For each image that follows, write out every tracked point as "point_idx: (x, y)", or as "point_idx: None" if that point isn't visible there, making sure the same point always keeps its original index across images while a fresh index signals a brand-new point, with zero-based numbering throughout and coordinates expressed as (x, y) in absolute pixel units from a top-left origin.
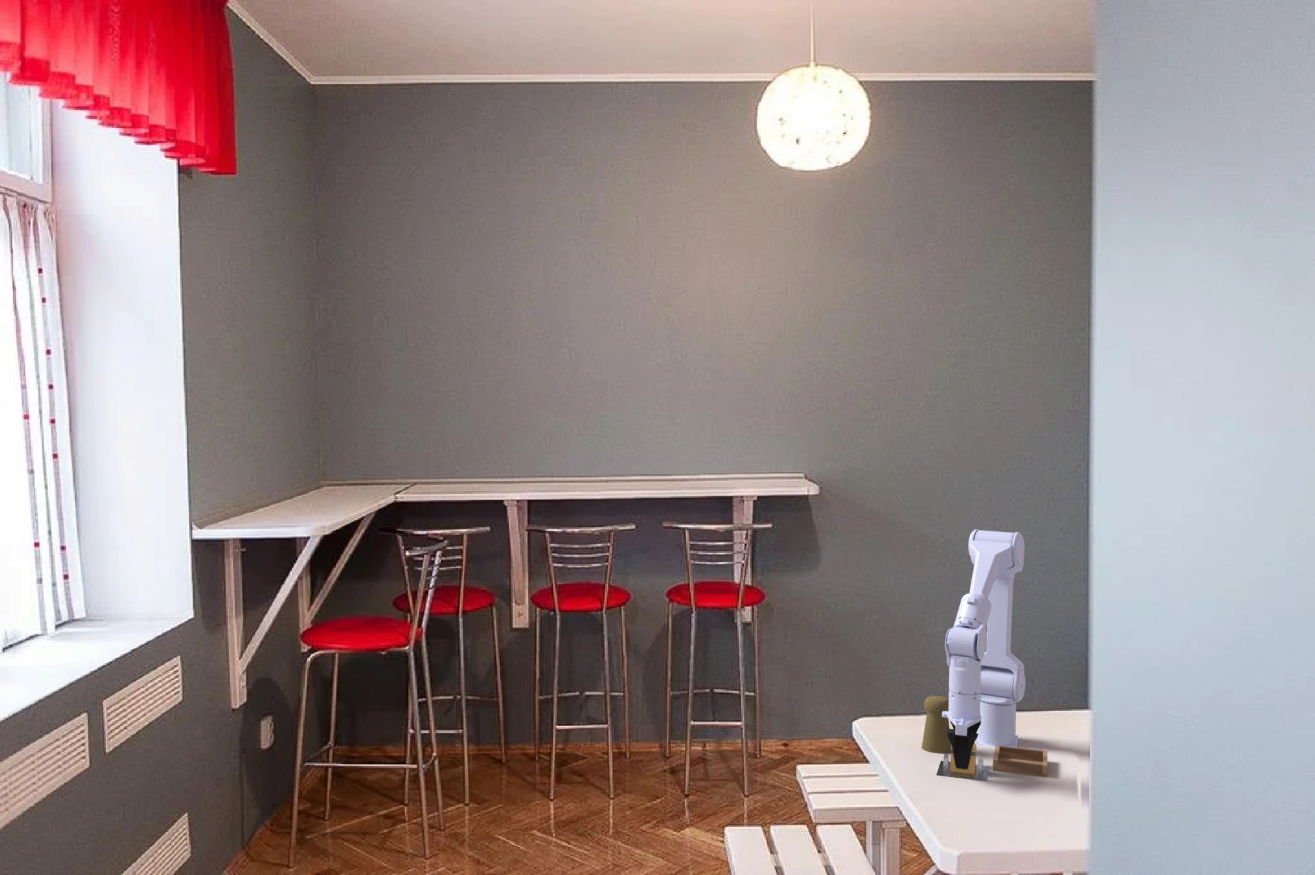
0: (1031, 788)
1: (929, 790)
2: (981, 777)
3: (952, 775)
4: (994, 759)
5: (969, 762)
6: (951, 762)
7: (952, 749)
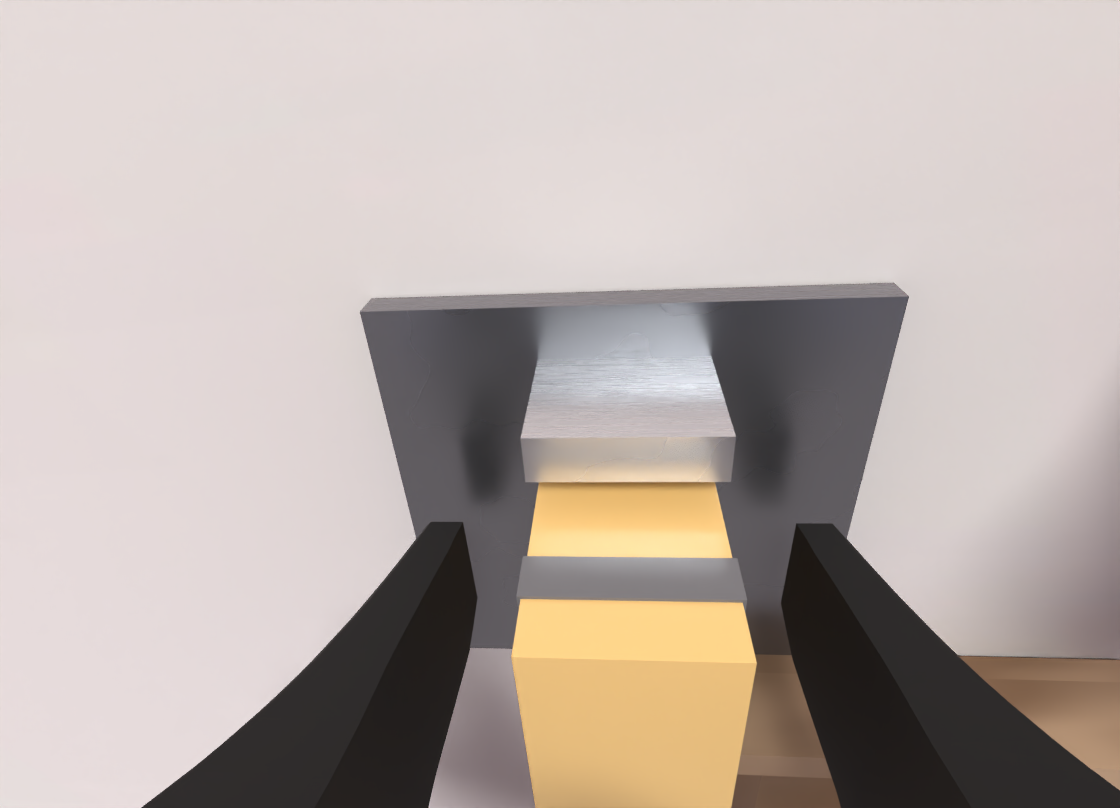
0: (517, 782)
1: (11, 284)
2: (509, 621)
3: (437, 448)
4: (742, 763)
5: (461, 662)
6: (541, 488)
7: (291, 682)
